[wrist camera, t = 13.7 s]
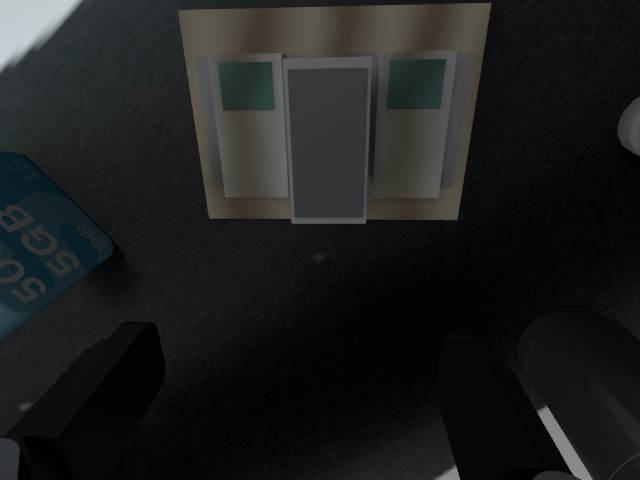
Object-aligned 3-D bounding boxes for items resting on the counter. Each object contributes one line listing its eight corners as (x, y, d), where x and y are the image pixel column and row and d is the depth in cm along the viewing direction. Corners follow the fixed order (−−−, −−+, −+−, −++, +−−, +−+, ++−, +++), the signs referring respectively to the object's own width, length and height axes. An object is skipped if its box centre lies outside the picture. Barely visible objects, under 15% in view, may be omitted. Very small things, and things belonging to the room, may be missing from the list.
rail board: (486, 5, 26) (512, -7, 22) (454, 215, 32) (469, 235, 29) (183, 12, 27) (156, 2, 23) (212, 214, 34) (196, 232, 30)
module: (362, 61, 26) (372, 56, 18) (358, 182, 30) (366, 225, 22) (300, 62, 26) (281, 58, 18) (304, 182, 30) (290, 225, 22)
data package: (121, 247, 36) (25, 324, 25) (92, 270, 37) (-11, 352, 26) (17, 147, 32) (-150, 185, 21) (-10, 176, 33) (-181, 226, 22)
